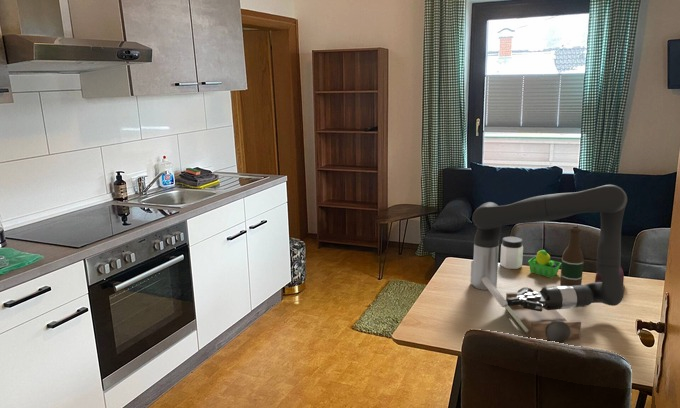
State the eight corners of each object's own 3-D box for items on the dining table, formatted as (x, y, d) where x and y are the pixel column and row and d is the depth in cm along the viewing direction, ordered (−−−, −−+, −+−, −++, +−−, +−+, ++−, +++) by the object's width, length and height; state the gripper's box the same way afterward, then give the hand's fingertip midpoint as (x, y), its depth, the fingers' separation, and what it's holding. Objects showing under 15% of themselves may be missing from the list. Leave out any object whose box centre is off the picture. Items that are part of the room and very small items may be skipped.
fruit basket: (561, 274, 208) (563, 248, 205) (552, 280, 202) (554, 254, 199) (534, 267, 216) (536, 242, 213) (524, 273, 210) (526, 247, 207)
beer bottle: (555, 283, 199) (560, 225, 193) (574, 282, 200) (579, 224, 194) (565, 291, 191) (571, 231, 186) (585, 290, 192) (591, 230, 186)
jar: (500, 268, 216) (501, 241, 213) (500, 261, 224) (501, 235, 221) (522, 270, 213) (523, 243, 210) (521, 263, 221) (523, 237, 218)
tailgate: (508, 303, 176) (485, 275, 174) (530, 329, 158) (504, 299, 155) (503, 306, 177) (480, 279, 174) (524, 333, 158) (499, 303, 155)
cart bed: (545, 304, 181) (546, 286, 179) (582, 342, 155) (584, 321, 154) (503, 306, 181) (504, 288, 179) (534, 344, 155) (535, 323, 153)
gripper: (549, 279, 172) (499, 283, 171) (568, 295, 159) (514, 300, 158) (548, 299, 174) (499, 303, 173) (567, 317, 161) (514, 321, 160)
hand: (506, 302), depth 166 cm, fingers closed
